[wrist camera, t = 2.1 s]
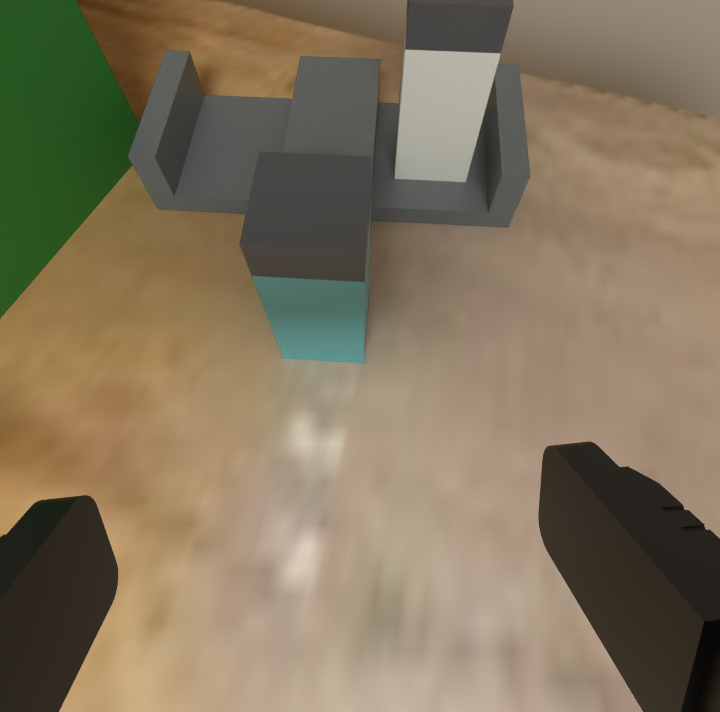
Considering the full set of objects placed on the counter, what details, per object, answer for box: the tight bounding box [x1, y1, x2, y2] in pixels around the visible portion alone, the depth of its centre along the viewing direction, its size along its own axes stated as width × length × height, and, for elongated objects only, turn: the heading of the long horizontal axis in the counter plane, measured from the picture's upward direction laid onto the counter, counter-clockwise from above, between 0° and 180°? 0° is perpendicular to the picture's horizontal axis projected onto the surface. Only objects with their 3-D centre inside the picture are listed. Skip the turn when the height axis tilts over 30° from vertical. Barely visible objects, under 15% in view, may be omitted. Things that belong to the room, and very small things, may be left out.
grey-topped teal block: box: [240, 151, 372, 363], centre depth 22 cm, size 4×4×10 cm
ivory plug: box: [394, 0, 513, 182], centre depth 25 cm, size 4×4×10 cm
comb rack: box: [128, 50, 530, 227], centre depth 29 cm, size 22×9×4 cm, turn 86°
